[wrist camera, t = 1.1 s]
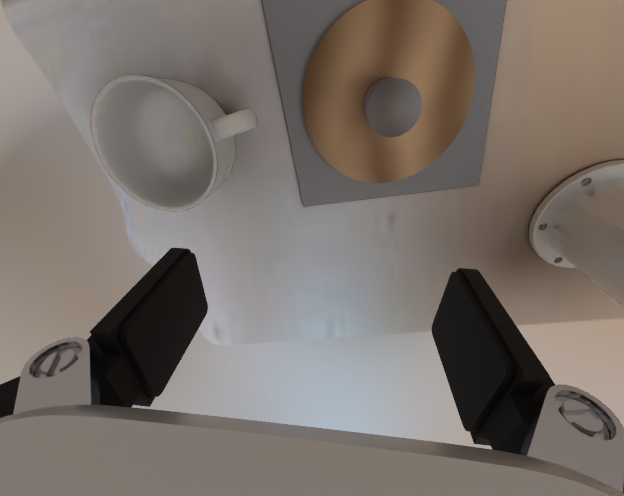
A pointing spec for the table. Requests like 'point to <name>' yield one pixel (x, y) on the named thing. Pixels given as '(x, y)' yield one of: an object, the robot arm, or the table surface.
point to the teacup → (165, 139)
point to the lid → (388, 89)
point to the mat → (291, 76)
